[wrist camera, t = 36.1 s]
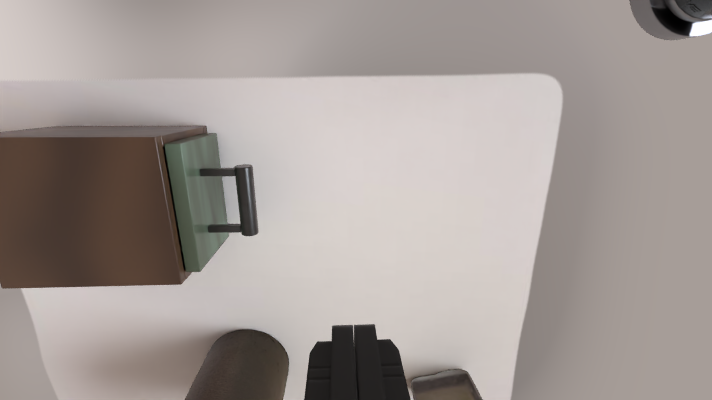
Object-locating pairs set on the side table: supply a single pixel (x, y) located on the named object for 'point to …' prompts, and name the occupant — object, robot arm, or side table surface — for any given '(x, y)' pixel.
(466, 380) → the decorative sculpture
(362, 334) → the robot arm
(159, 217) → the cabinet
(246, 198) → the drawer
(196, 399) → the pillar candle
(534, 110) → the side table surface
